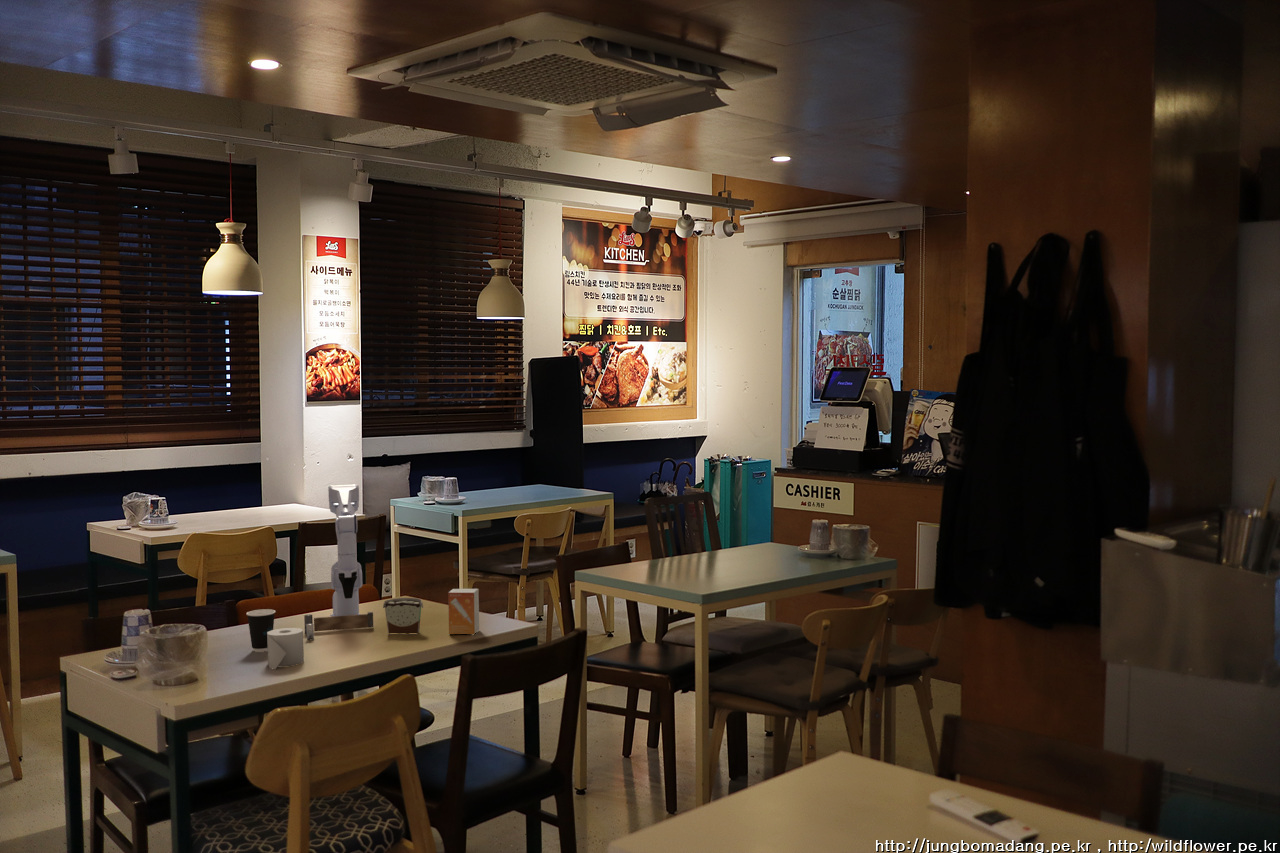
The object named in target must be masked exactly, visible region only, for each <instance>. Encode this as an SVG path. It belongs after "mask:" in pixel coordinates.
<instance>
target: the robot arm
mask: <svg viewBox="0 0 1280 853" xmlns="http://www.w3.org/2000/svg"><path fill="white" fill-rule="evenodd" d="M327 490H328V505H329V506H328V507H329V511H330V512H331V513H332V514H335V516H336V517H335V522H334V523H335V534H336V540H337V561H336V562H335V563H333V565H331V568H330V570H331V572H330V574H331V575H330V581H331V582H330V584H331V590H333V591H334V590H335V591H334V592H333V594H332V613H330V615H329V617H331V616H345V615H359V614H360V598H359V590H360V589H361V588H362V587H363V571H362V565H361V563H360V562H358V560H357V557H358V554H357V553H358V552H357V533H358V516H357V514H356V512H357V511H358V510H359V505H360V486H359V484H358V483H354V484H338V485H337V484H336V485H332V484H329V486H328V489H327Z"/></svg>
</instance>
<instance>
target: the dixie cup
mask: <svg viewBox="0 0 1280 853" xmlns="http://www.w3.org/2000/svg"><path fill="white" fill-rule="evenodd" d="M275 613H277V612H276V610H274V609H271V608H270V609H269V608H267V609H254V610H251V611H247V612H246V616H247V622H248V629H249V636H250V642H251V644H250V645H251V648H252V650H253V652H254V651H255V652H254V653H265V652H264V651H266V652H268V644H267V632H269V631H271V630H274V624H275Z"/></svg>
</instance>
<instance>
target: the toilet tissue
mask: <svg viewBox="0 0 1280 853" xmlns="http://www.w3.org/2000/svg"><path fill="white" fill-rule="evenodd" d="M267 644H268V651H267V664H269V665H268V668H269V669H270V668H273V669H275V670H276V669H277V668H278V667H277V666H289V667H292V665H294V666H297V665H296V664H299V665H300V663H301V664H303V663H305V659H304V658H305V656H304V654H305V651H304V630H303V629H302V628H299V627H283V628H276V629H273V630H271V631H269V632H267ZM302 662H303V663H302ZM273 669H272V670H273Z"/></svg>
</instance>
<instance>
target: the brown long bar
mask: <svg viewBox="0 0 1280 853" xmlns="http://www.w3.org/2000/svg"><path fill="white" fill-rule="evenodd" d="M313 627H314V632H324V631H325V632H326V631H335V630H336V631H339V630H351V629H352V630H353V629H363V628H364V629H365V628H366V629H367V628H369V629H370V628H374V611H367V613H359V615H345V616H321V617H320V616H319V617H318V616H316V617H313Z"/></svg>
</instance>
